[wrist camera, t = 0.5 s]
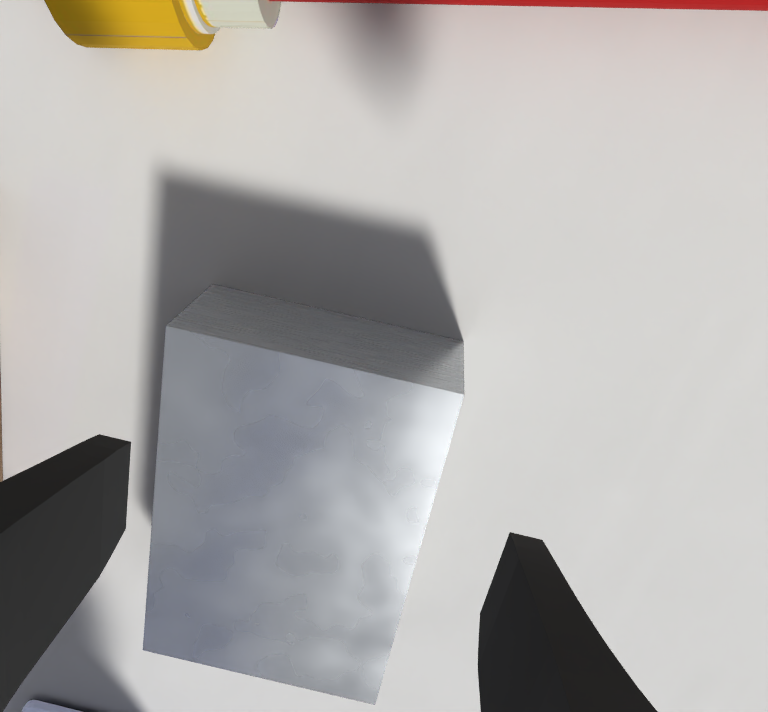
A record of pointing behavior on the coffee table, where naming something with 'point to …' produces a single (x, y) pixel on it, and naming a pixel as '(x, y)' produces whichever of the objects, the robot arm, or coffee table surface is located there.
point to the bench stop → (0, 438)
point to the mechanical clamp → (260, 17)
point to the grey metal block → (293, 487)
